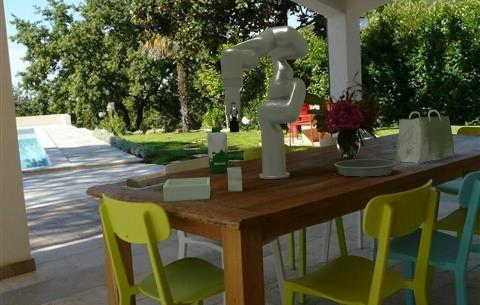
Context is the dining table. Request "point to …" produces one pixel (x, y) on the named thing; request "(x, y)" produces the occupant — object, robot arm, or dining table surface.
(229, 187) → the cream block
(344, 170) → the cake pan
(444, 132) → the grocery bag
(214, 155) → the milk carton
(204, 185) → the sage bin
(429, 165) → the dining table surface
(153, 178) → the packaged product
